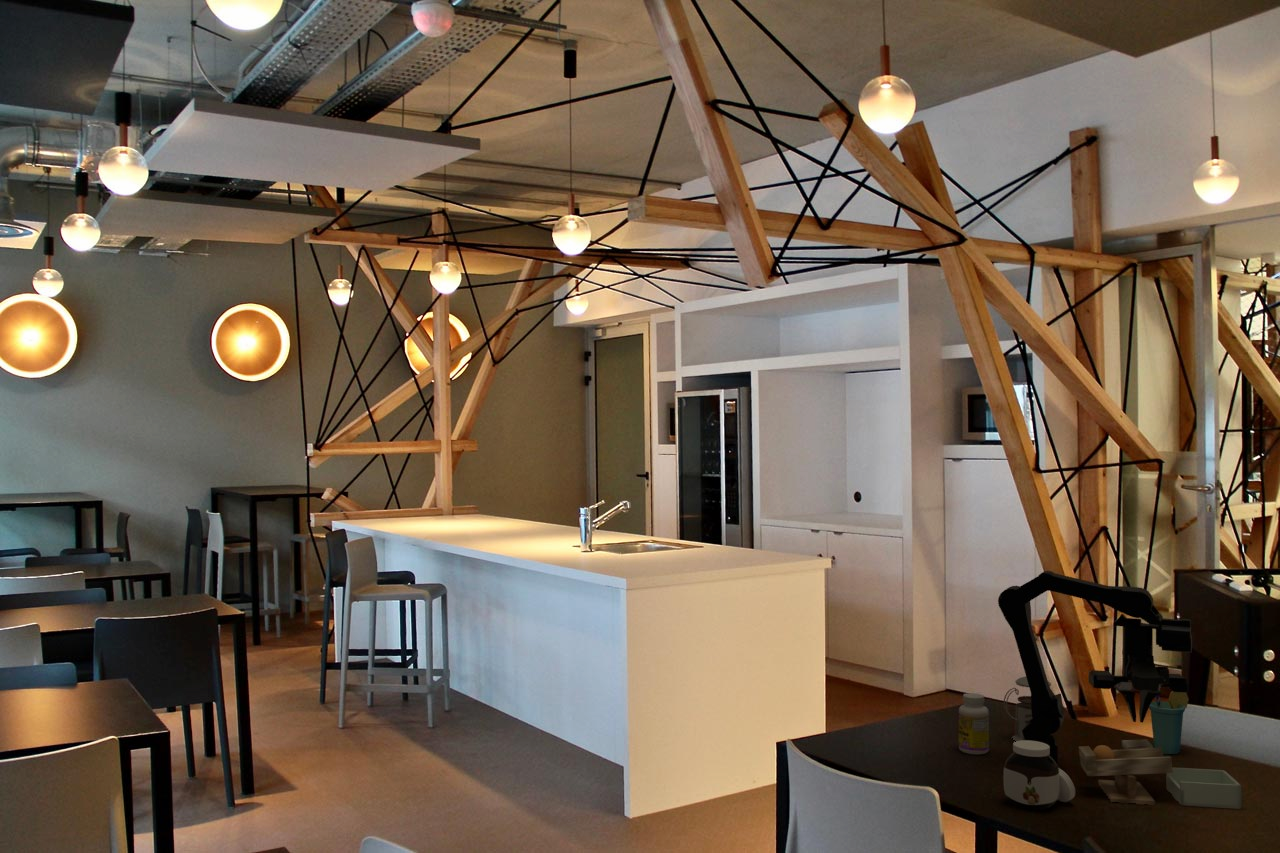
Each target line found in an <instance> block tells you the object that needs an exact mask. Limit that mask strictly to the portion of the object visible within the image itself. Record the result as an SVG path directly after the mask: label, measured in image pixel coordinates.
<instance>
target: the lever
mask: <svg viewBox="0 0 1280 853" xmlns="http://www.w3.org/2000/svg"><path fill="white" fill-rule="evenodd" d="M1121 746H1122V749H1111V750H1112V751H1113V753H1114V759H1099V760H1097V759H1096V755H1095V754H1094V752H1093V750H1092V749H1091V747H1090V746H1089V745H1085V746H1084V745H1083V746H1078V752H1079V762H1080V768H1082V770H1083V772H1085V774H1086V776H1087V777H1100V776H1102V777H1103V776H1115V775H1131V774H1135V775H1150V774H1151V775H1152V774H1153V775H1154V774H1166V773H1173V768H1172V767H1173V761H1172V759H1173V758H1172V756H1171V755H1168V756H1164V754H1163V749H1162V748H1154V745H1152V743H1151V742H1150V741H1149V740H1148V739H1143V738H1142V739H1128V740H1127V739H1126V740H1125V739H1124V740H1121Z"/></svg>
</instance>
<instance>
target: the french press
mask: <svg viewBox="0 0 1280 853" xmlns="http://www.w3.org/2000/svg"><path fill="white" fill-rule="evenodd" d="M1034 636H1035V639H1036V642H1037V641H1038V638H1037V636H1036V635H1034ZM1014 682H1015V684H1016V685H1017V686H1020V687H1023V688H1024V687H1025V688H1029V684H1028V681H1027V677H1026V675H1025V676H1022V677H1019V678H1017V679H1016V680H1014ZM1048 684H1049V687H1050V688H1051V686H1052V683H1051V682H1050V681H1048ZM1019 691H1020V690H1019V688H1018V689H1017V688H1016V687H1012V688H1010V689H1009V690H1008V691H1007V692H1006V694H1005V695H1004V697H1003V708H1004V711H1005V713H1006V715H1008V716H1009V717H1010V718H1012V719H1013V720H1014V731H1015V732H1014V735H1013V736H1012V737H1011V739H1012V738H1013V740H1015V741H1021V740H1023V733H1022V730H1023V728H1024V727H1025V726H1026V724H1027V723H1028V721H1030V720H1031V719H1032V711H1031V695H1023V696H1022V695H1021V696H1018V695H1019ZM1013 692H1015V695H1017V696H1018V697H1017V698H1016V699H1017V701H1018V702H1017V703H1016V704H1015V717H1014V716H1012V715H1011V714H1010V712H1009V709H1008V701H1009V697H1010V696H1011V694H1013ZM1023 707H1025V708H1023ZM1028 708H1029V709H1028ZM1030 715H1031V716H1030ZM1013 740H1012V741H1013ZM1015 741H1014V742H1015Z"/></svg>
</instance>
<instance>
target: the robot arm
mask: <svg viewBox="0 0 1280 853" xmlns="http://www.w3.org/2000/svg"><path fill="white" fill-rule="evenodd" d="M1046 592H1054V593H1058V594H1061V595H1066V596H1070V597H1074V598H1077V599H1082V600H1085V601H1086V600H1087V601H1091V602H1094V603H1099V604H1102V605H1105V606H1107V607H1109V608H1111V609H1113V610H1115V611H1117V612H1119V613H1121V614H1120V615H1119V617H1118V618H1117V619H1115V620H1114V621H1113V623H1112V624H1113V626H1115V627H1122V637H1123V638H1122V641H1123V642H1122V675H1113V674H1112V673H1111V672H1110V671H1109V670H1098V669H1097V670H1094V669H1093V670H1092V669H1091V671H1090V672H1089V673H1088V683H1089V685H1090V686H1091V687H1092V688H1094V689H1100V690H1101V689H1102V690H1111V689H1112V688H1113V687H1114V689H1115V690H1116V691H1117V692H1118V693H1119V694H1121V695H1122V697H1123V699H1124V701H1125V703H1126V706H1127V709H1128V712H1129V715H1130V717H1131V720H1132V722H1133V723H1136V722H1137V710H1136V700H1135V696H1136V691H1140V692H1139V708H1138V709H1139V710H1138V711H1139V714H1138V715H1139V722H1140V723H1144V722H1145V718H1146V716H1147V713H1148V711H1149V706H1150V704H1151V702H1153V701H1154V699H1156V698H1155V697H1156V696H1157V695H1159V696H1161V695H1162V694H1163V693H1162V691H1161V687H1165V688H1169V690H1171V692H1172V691H1173V692H1186V693H1187V694H1188V693H1190V684H1189V680H1188V679H1187V678H1185V677H1184V676H1183V675H1182V674H1180V673H1170V669H1169V667H1168V666H1162V665H1161V666H1156V664H1155V659H1154V658H1155V657H1154V656H1155V655H1153V654H1154V653H1153V652H1154V650H1153V649H1154V647H1153V643H1154V640H1153V637H1154V633H1153V632H1154V631H1153V630H1155V645H1156V646H1158V647H1160V648H1161V651H1163V652H1164V651H1165V652H1166V651H1167V652H1177V653H1179V652H1180V653H1188V654H1189V653H1190V654H1191V653H1192V652H1193V651H1192V649H1193V633H1192V631H1191V630H1192V628H1191V623H1192V622H1191V621H1192V620H1191V619H1187V618H1181V619H1180V618H1179V619H1177V618H1176V619H1175V618H1166V617H1165V618H1164V617H1163V615H1162V613H1161V612H1160V611H1159V610H1158V609H1157V607H1156V606H1155V605H1154V598H1153V596H1152V594H1151V592H1150V591H1148V590H1147V589H1145V588H1143V587H1139V586H1138V587H1137V586H1124V585H1123V586H1122V585H1118V586H1117V585H1106V584H1101V583H1097V582H1094V581H1093V582H1092V581H1090V580H1085V579H1080V578H1077V577H1074V576H1073V577H1072V576H1067V575H1065V574H1064V575H1063V574H1059V573H1056V572H1053V571H1052V570H1045V571H1043V572H1041V573H1039V574H1038V576H1036V577H1034V578H1032V579H1031V580H1029V581H1028V582H1026V583H1024V584H1022V585H1011V586H1008V587H1007V588H1006V589H1004V590H1003V591H1002V592H1001V593H1000V595H999V596H998V597H997V598H998V599H997V603H998V607H999V610H1000V611H1001V613H1002V615H1003V617H1004V619H1005V621H1006V623H1007V624H1008V625H1009V626H1010V628H1011V630H1012V632H1013V636H1014V640H1015V643H1016V647H1017V649H1018V652H1019V657H1020V659H1021V663H1022V664H1021V665H1022V667H1023V671H1024V674H1025V676H1026V677H1027V681H1028V684H1029V687H1028V688H1029V691H1030V697H1031V709H1030V710H1031V711H1032V715H1031V717H1032V719H1031V720H1028V723H1027V724H1026V723H1025V724H1026V726H1025V727H1024V728H1023V730H1022V733H1023V740H1029V741H1038V742H1042V743H1045V744H1047V745H1049V747H1050V754H1049V756H1050V757H1051V758H1052V759H1053V760H1054V761H1055V762H1056V764H1057V765H1058V764H1059V762H1058V761H1059V757H1058V756H1059V753H1058V752H1059V748H1058V745H1057V743H1056V738H1055V737H1054V736H1053V735H1052V734H1055V733H1056V732H1058V730H1059V729H1060V727H1061V726H1062V724H1063V723H1064V720H1065V714H1066V712H1067V709H1066V708H1065V706H1064V704H1063V698H1062V693H1057V694H1055V693H1054V692H1053V690H1052V688H1051V686H1050V687H1049V684H1048V682H1049V680H1048V678H1047V677H1048V676H1047V674H1046V670H1045V667H1044V664H1043V661H1042V658H1041V657H1042V656H1041V653H1040V650H1039V647H1038V643H1037V641H1036V639H1035V636H1036V635H1035V633H1034V630H1033V626H1032V607H1031V601H1032V600H1034V599H1036V598H1037V597H1039V596H1040V595H1042V594H1044V593H1046ZM1126 615H1127V616H1128V617H1127V616H1126ZM1142 621H1145V622H1146V623H1145V622H1142ZM1134 689H1135V690H1136V691H1135V690H1134Z"/></svg>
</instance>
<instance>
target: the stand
mask: <svg viewBox="0 0 1280 853" xmlns="http://www.w3.org/2000/svg"><path fill="white" fill-rule="evenodd" d="M1137 778H1138V777H1137V775H1136V774H1131V775H1114V780H1110V779H1097V784H1098V785H1099V787H1100V786H1101V787H1100V788H1101V790H1102V789H1103V790H1102V792H1104V794H1105V793H1106V794H1105V796H1106V797H1107V796H1108V797H1107V799H1108V800H1109V799H1110V800H1109V802H1111V803H1112V802H1119V803H1118V804H1128V803H1136V804H1135V805H1144V804H1148V805H1147V806H1155V805H1156V801H1155V799H1154V798H1153V797H1152V796H1151V795H1150V793H1149V792H1148V791H1147V790H1146V788H1145V787H1144V786H1143V785H1142V784H1141V782H1139V781H1137Z"/></svg>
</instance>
